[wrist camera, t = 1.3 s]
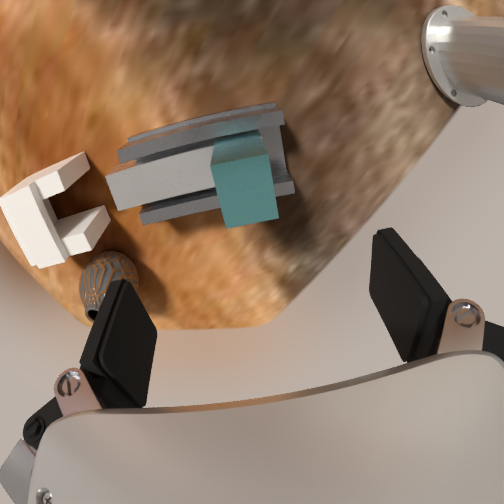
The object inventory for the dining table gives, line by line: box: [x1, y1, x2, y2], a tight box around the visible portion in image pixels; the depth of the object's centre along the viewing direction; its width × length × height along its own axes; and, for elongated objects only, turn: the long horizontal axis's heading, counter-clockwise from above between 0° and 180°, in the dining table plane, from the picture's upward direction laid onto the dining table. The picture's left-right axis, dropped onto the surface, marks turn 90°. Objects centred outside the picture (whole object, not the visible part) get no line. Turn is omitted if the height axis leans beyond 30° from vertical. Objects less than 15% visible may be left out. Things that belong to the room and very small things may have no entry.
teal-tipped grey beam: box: [105, 130, 279, 229], centre depth 23 cm, size 14×4×10 cm, turn 101°
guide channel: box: [117, 102, 295, 225], centre depth 26 cm, size 14×8×4 cm, turn 101°
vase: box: [79, 251, 139, 323], centre depth 30 cm, size 7×7×9 cm
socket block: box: [0, 152, 111, 269], centre depth 26 cm, size 9×8×7 cm
